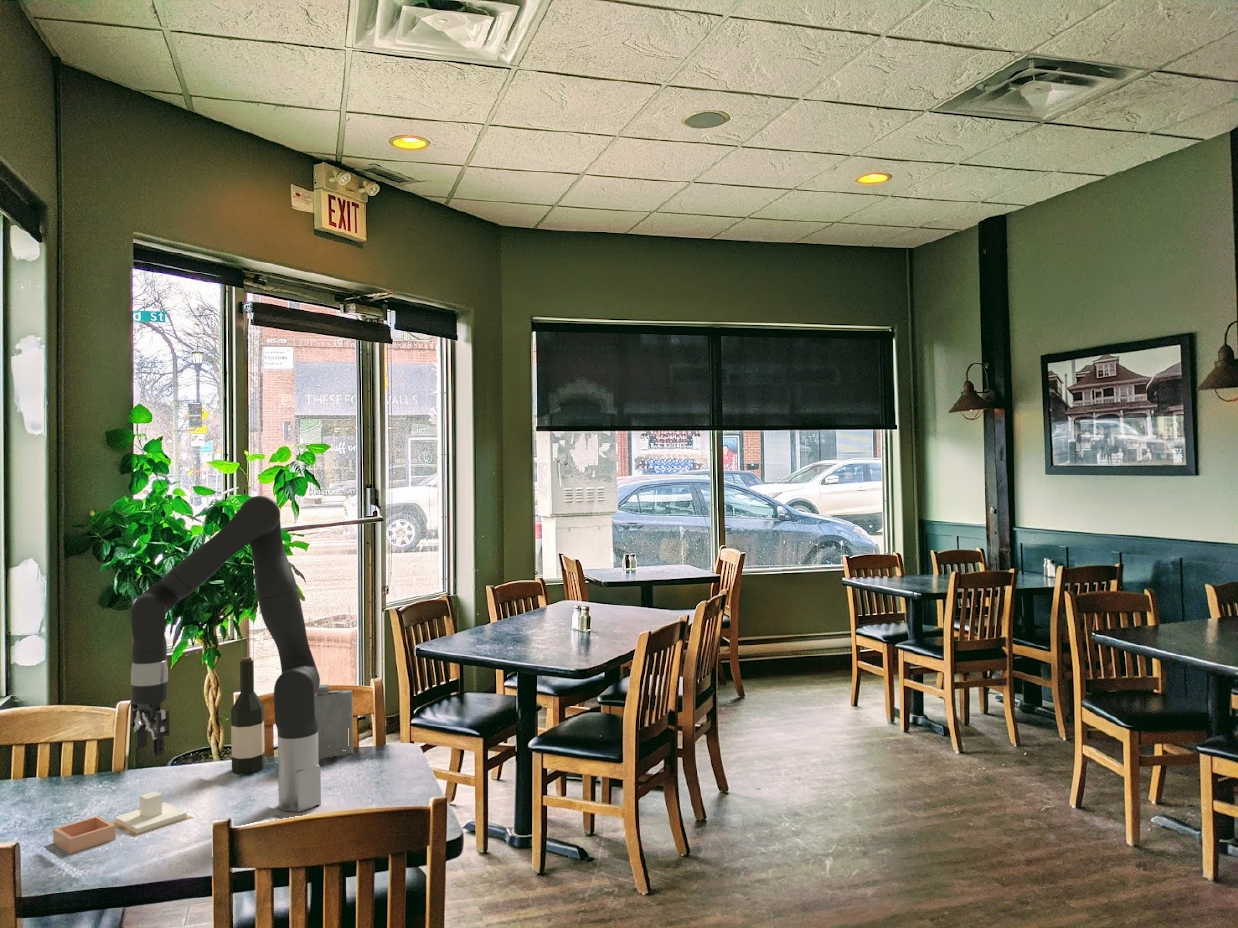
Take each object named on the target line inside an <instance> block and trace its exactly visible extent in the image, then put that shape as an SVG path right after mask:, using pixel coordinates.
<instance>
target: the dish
mask: <svg viewBox="0 0 1238 928" xmlns="http://www.w3.org/2000/svg"><path fill="white" fill-rule="evenodd" d="M110 822H111V821H109V820H107V819H105V818H103V817H101V816H100V815H95V816H92V817H88V818H85V819H82V820H79V821H76V822H72V823H68V824H65V825H62V826H58V827H55V828H53V829H52V842H53V844H54V845H56V846H57V847H59V848H60V849H61V850H64V851H65V852H66V853H68V854H70V855H71V854H74V853H77V852H80V851H83V850H86V849H87V850H88V849H90V848H93V847H96V846H98V845H99V846H100V845H102V844H106V843H108V842H112V841H115V840H116V839H117V838H116V836H117V835H116V826H115V825H114V824H112V823H110Z"/></svg>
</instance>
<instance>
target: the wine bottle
mask: <svg viewBox="0 0 1238 928" xmlns="http://www.w3.org/2000/svg"><path fill="white" fill-rule="evenodd" d="M254 665H255V664H254V660H253V659H252V657H250V656H246V657H242V658H241V660H240V662H239V673H240V674H239V679H240V680H239V685H240V687H239V688H240V690H239V694H238V697H237V698H236V700H235V702H234V704H233V705H232V708H231V709H230V729H231V731H230V734H231V735H230V737H231V738H230V739H231V740H230V742H231V744H230V746H231V773H232V774H233V773H234V774H236V775H247V774H248V775H249V774H251V773H252V774H254V772H255V773H257V772H260V771H261V772H262V771H263V770H264V769H265V765H266V764H265V763H266V762H265V761H266V759H265V757H266V756H265V755H266V754H265V750H266V749H265V707H264V705H265V704H264V703H263V702H262V701H261V699H260V697H259V696H258V695H257V693H256V692H255V685H254V684H255V683H254V681H255V680H254V678H255V676H254V675H255V674H254V673H255V672H254V667H255V666H254Z"/></svg>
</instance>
